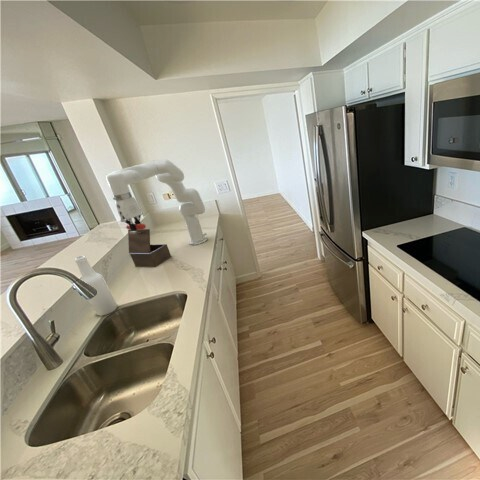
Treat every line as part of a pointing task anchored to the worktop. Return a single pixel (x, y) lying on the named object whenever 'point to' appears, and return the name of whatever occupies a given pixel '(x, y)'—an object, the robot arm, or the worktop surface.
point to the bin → (151, 256)
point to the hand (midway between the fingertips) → (136, 228)
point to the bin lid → (139, 241)
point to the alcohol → (97, 288)
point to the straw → (137, 226)
